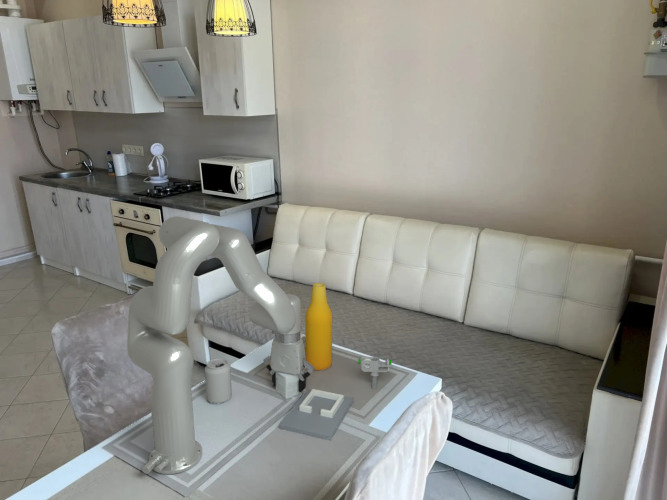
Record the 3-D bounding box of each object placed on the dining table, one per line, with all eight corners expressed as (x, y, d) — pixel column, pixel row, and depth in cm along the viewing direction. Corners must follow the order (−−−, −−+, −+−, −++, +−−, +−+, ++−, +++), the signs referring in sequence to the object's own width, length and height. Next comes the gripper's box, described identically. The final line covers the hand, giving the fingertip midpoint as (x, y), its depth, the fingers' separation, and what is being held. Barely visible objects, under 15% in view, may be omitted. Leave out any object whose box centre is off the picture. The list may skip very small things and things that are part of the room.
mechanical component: (390, 390, 153) (391, 361, 150) (357, 389, 153) (358, 360, 151) (389, 385, 156) (390, 356, 153) (357, 384, 156) (358, 356, 154)
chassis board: (330, 440, 128) (330, 431, 128) (279, 428, 133) (279, 419, 133) (353, 401, 147) (354, 393, 146) (307, 392, 151) (307, 384, 151)
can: (217, 408, 142) (215, 371, 139) (201, 399, 147) (199, 363, 144) (237, 397, 148) (235, 361, 145) (220, 389, 152) (219, 354, 150)
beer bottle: (303, 359, 173) (303, 281, 165) (329, 357, 174) (330, 280, 167) (307, 372, 164) (306, 290, 157) (334, 369, 165) (335, 288, 158)
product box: (275, 390, 152) (274, 369, 150) (291, 384, 156) (291, 363, 154) (285, 399, 147) (285, 377, 146) (302, 393, 151) (302, 371, 149)
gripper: (256, 335, 146) (258, 388, 151) (310, 345, 140) (310, 399, 145) (268, 326, 153) (269, 376, 157) (319, 334, 147) (319, 386, 152)
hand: (288, 387), depth 151 cm, fingers closed on product box, 8 cm apart
